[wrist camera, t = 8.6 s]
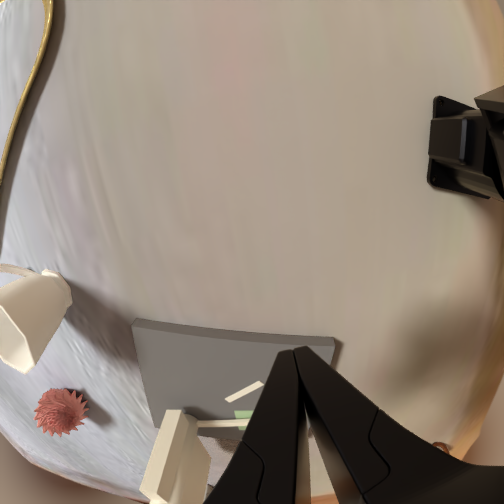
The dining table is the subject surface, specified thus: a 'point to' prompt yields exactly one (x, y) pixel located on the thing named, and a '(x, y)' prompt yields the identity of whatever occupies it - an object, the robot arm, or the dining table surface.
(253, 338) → the grey board
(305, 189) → the dining table surface
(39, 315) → the cup
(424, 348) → the dining table surface
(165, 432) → the tuning peg
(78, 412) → the flower
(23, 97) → the yellow oval loop
